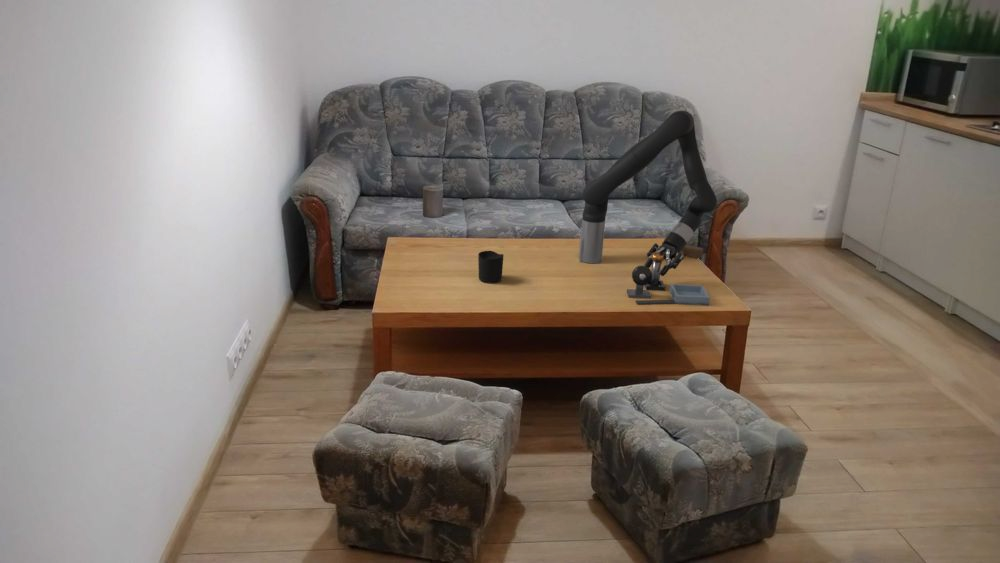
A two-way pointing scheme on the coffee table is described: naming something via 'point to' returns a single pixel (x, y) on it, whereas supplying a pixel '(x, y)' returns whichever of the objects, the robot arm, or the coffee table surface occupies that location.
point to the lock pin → (656, 268)
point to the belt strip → (654, 302)
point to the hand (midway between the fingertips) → (653, 271)
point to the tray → (689, 294)
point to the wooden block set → (691, 251)
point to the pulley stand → (640, 282)
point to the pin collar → (659, 288)
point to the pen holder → (490, 266)
